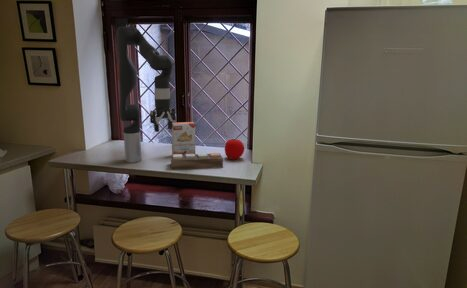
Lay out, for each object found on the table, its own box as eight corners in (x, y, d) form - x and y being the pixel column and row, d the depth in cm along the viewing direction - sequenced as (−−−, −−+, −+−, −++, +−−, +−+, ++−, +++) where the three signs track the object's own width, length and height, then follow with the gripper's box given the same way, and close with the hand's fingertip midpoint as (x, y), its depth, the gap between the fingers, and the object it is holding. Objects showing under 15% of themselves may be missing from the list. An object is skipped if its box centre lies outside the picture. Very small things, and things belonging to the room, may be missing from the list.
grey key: (185, 159, 190) (185, 154, 190) (194, 158, 191) (194, 153, 191) (186, 161, 186) (186, 156, 185) (195, 161, 186) (195, 155, 186)
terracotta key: (209, 158, 193) (209, 153, 192) (218, 157, 194) (218, 152, 193) (211, 160, 188) (211, 155, 188) (219, 160, 189) (219, 155, 188)
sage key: (197, 158, 192) (197, 153, 191) (206, 158, 193) (206, 153, 192) (198, 161, 187) (198, 155, 186) (207, 160, 188) (207, 155, 187)
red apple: (220, 159, 203) (220, 139, 200) (230, 155, 212) (230, 135, 209) (238, 162, 196) (238, 141, 194) (247, 158, 206) (247, 138, 203)
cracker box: (173, 157, 205) (173, 124, 200) (171, 155, 210) (170, 122, 205) (195, 155, 210) (195, 122, 205) (193, 153, 215) (192, 121, 211)
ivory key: (173, 159, 189) (173, 154, 188) (182, 159, 190) (182, 154, 189) (173, 162, 184) (173, 156, 183) (182, 161, 185) (182, 156, 184)
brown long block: (170, 163, 192) (170, 154, 191) (219, 161, 198) (219, 153, 197) (171, 169, 182) (171, 160, 181) (222, 166, 187) (222, 158, 186)
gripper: (168, 96, 169) (169, 127, 173) (145, 98, 158) (147, 131, 162) (178, 97, 165) (179, 129, 169) (156, 99, 154) (157, 133, 158)
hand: (163, 130), depth 165 cm, fingers open, 8 cm apart
